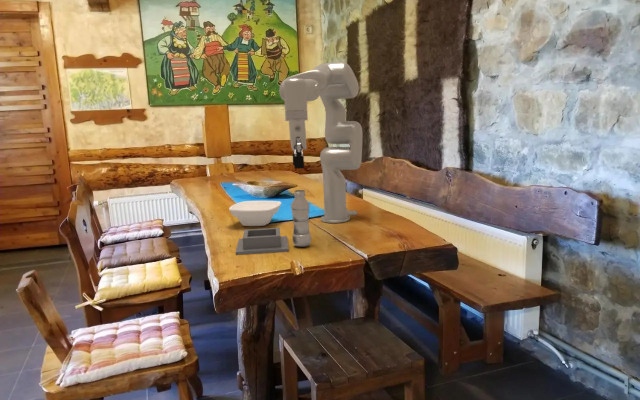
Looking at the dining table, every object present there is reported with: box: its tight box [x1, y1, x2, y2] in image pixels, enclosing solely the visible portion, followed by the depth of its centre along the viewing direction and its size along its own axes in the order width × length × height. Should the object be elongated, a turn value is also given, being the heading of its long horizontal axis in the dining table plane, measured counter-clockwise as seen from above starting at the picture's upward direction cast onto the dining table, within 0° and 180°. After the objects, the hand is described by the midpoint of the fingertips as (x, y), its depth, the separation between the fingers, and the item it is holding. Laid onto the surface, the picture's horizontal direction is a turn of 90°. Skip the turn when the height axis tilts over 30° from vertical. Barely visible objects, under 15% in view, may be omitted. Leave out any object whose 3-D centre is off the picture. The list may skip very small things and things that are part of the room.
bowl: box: [228, 200, 282, 227], centre depth 204 cm, size 21×21×9 cm
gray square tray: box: [235, 227, 290, 256], centre depth 171 cm, size 18×17×5 cm
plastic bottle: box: [290, 189, 312, 248], centre depth 168 cm, size 6×7×20 cm
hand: (298, 166), depth 165 cm, fingers open, 9 cm apart
